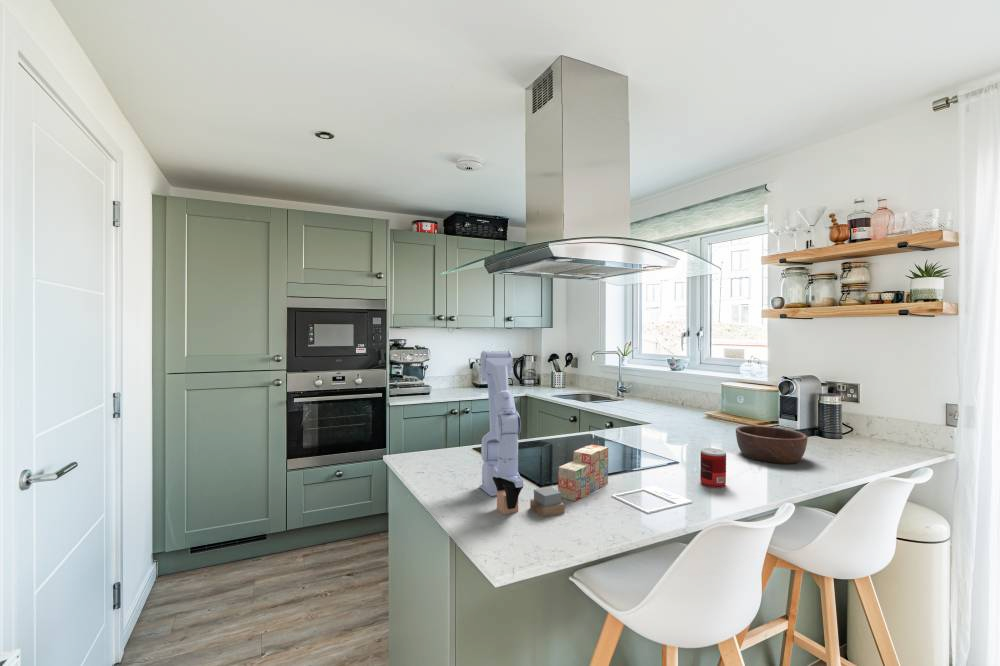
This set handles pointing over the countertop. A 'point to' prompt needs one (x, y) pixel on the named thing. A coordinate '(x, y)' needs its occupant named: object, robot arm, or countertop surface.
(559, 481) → the stack of blocks
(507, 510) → the terracotta block
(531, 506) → the walnut base block
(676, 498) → the photo frame
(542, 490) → the gray top block
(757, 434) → the wooden bowl
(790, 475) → the countertop surface
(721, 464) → the canned food
